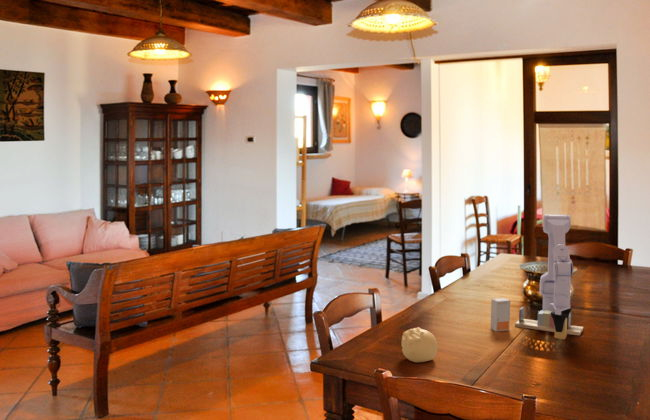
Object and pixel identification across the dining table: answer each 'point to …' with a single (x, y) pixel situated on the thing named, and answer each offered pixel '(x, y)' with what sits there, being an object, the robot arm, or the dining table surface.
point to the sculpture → (419, 345)
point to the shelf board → (533, 325)
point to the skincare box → (500, 314)
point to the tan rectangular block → (564, 332)
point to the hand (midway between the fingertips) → (560, 329)
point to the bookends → (521, 317)
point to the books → (545, 319)
